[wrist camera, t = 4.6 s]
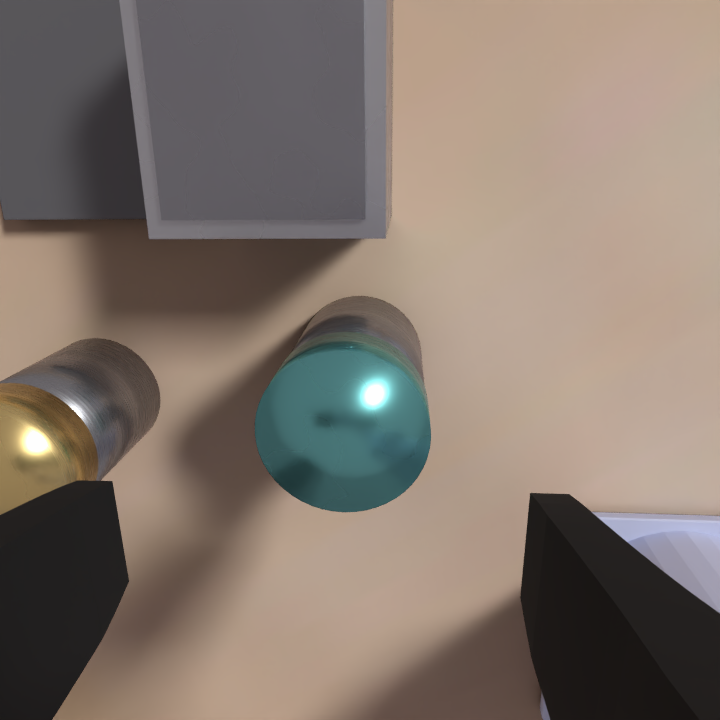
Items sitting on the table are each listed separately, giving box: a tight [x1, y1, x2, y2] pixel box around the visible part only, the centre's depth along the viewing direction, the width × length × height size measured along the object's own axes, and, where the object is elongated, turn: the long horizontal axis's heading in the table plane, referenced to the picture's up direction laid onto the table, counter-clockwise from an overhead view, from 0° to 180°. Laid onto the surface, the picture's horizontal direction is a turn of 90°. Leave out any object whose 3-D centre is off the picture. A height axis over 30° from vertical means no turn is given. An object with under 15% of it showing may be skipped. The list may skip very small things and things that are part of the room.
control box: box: [119, 0, 393, 239], centre depth 14 cm, size 6×5×6 cm
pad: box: [0, 0, 146, 220], centre depth 17 cm, size 6×6×1 cm
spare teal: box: [255, 296, 431, 512], centre depth 16 cm, size 4×4×6 cm
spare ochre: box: [0, 338, 160, 515], centre depth 17 cm, size 4×4×6 cm
